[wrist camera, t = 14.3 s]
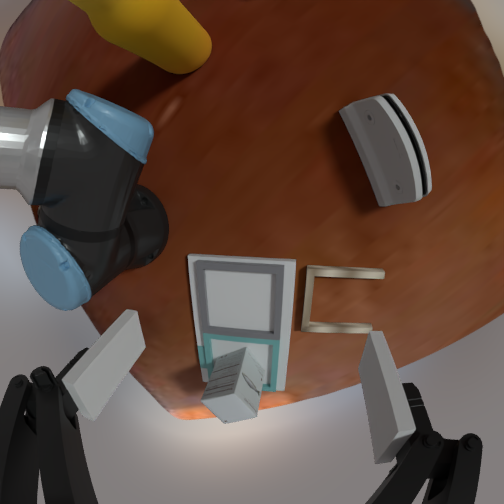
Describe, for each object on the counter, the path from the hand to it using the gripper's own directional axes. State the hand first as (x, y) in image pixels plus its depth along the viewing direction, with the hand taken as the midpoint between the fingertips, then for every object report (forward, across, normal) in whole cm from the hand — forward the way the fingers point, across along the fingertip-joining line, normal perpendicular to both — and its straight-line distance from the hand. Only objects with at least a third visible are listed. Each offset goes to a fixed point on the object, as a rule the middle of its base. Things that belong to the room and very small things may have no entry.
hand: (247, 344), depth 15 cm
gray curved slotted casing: (+31, +16, +12) cm, 37 cm away
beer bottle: (+31, -15, +28) cm, 44 cm away
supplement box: (+30, -6, -30) cm, 42 cm away
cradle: (+31, +11, -14) cm, 36 cm away
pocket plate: (+31, -6, -22) cm, 38 cm away
